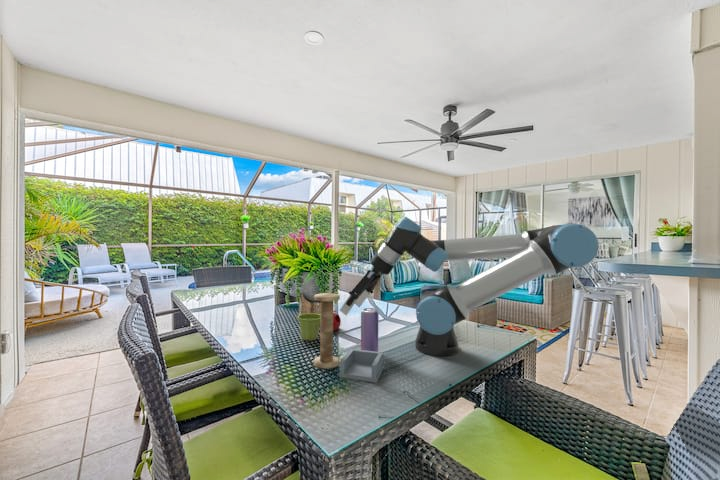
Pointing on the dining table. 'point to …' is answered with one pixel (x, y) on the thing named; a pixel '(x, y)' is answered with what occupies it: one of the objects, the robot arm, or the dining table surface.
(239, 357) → the dining table surface
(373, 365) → the gray open box
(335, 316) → the pomegranate
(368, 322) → the beverage can
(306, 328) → the plant pot
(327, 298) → the spool
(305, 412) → the dining table surface
